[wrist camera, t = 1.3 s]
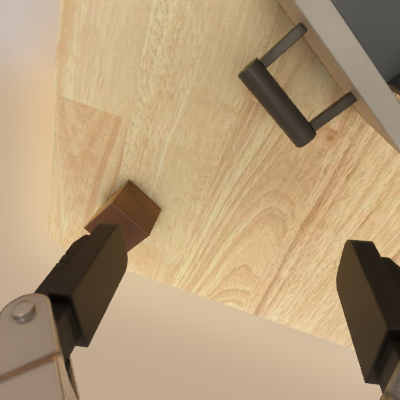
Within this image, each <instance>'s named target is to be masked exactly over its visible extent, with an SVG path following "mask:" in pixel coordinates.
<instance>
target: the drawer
mask: <svg viewBox="0 0 400 400" xmlns="http://www.w3.org/2000/svg"><path fill="white" fill-rule="evenodd" d="M277 1H278V3H279V4H280V5H281V7H282V8H283V10H284V11H285V12H286V14H287V15H288V17H289V18H290V19H291V21H292V22H293V23H294V25H295V27H294V28H293V29H292V30H291V31H290V32H289V33H288V34H287V35H285V36H284V37H283V38H282V39H281V40H280V41H279V42H278V43H277V44H276V45H275V46H274V47H272V48H271V49H270V50H269V51H268V52H267V53H266V54H265V55H264V56H263V57H262V58H261V59H260V60H259V59H258V58H255V59H254V60H253V61H252V62H250V63H249V64H248V65H247V66H246V67H245V68H244V69H243V70H242V71H241V72H240V73H239V75H238V77H239V78H240V79H241V81H242V82H243V83H244V84H245V85H246V87H247V88H248V89H249V90H250V91H251V93H252V94H253V95H254V96H255V97H256V99H257V100H258V101H259V102H260V103H261V105H262V106H263V107H264V108H265V110H266V111H267V112H268V113H269V114H270V116H271V117H272V118H273V119H274V120H275V122H276V123H277V124H278V125H279V126H280V128H281V129H282V130H283V131H284V132H285V134H286V135H287V136H288V137H289V138H290V140H291V141H292V142H293V143H294V144H295V146H296V147H298V148H300V147H303V146H305V145H306V144H308V143H309V142H310V141H312V140H313V138H314V137H315V136H316V130H318V129H319V128H321V127H322V126H323V125H325V124H326V123H327V122H329V121H330V120H331V119H333V118H334V117H336V116H337V115H338V114H340V113H341V112H342V111H344V110H345V109H347V108H348V107H349V106H351V105H353V106H354V107H355V109H356V110H357V112H358V113H359V114H360V116H361V117H362V118H363V119H364V120H365V121H367V122H368V123H369V124H370V125H371V126H372V127H373V128H374V129H375V130H376V131H377V132H378V133H379V134H380V135H381V136H382V137H383V138H384V139H385V140H386V141H387V142H388V143H389V144H390V145H391V146H392V147H393V148H395V149H396V150H397V151H398V152H399V153H400V102H399V101H398V99H397V98H396V96H395V95H394V93H393V92H395V93H397V94H399V95H400V0H277ZM302 36H303V37H304V39H305V40H306V41H307V43H308V44H309V45H310V47H311V48H312V50H313V51H314V52H315V54H316V55H317V56H318V58H319V59H320V61H321V62H322V63H323V65H324V66H325V68H326V69H327V70H328V72H329V73H330V74H331V76H332V77H333V79H334V80H335V81H336V83H337V84H338V85H339V87H340V88H341V90H342V91H343V92H344V94H345V95H344V96H343V97H341V98H340V99H339V100H337V101H336V102H335V103H333V104H332V105H331V106H329V107H328V108H327V109H325V110H324V111H323V112H321V113H320V114H319V115H317V116H316V117H315V118H313V119H312V120H311V121H310V122H308V121H307V120H306V118H305V117H304V116H303V115H302V113H301V112H300V111H299V110H298V108H297V107H296V106H295V105H294V103H293V102H292V101H291V100H290V98H289V97H288V96H287V94H286V93H285V92H284V91H283V89H282V88H281V87H280V86H279V84H278V83H277V82H276V81H275V79H274V78H273V77H272V76H271V74H270V73H269V72H268V70H267V69H266V68H267V67H268V66H269V65H271V64H272V63H273V62H274V61H275V60H276V59H277V58H278V57H279V56H281V55H282V54H283V53H284V52H285V51H286V50H287V49H288V48H289V47H291V46H292V45H293V44H294V43H295V42H296V41H297V40H298V39H299V38H301V37H302ZM392 91H393V92H392Z"/></svg>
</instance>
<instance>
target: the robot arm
mask: <svg viewBox="0 0 400 400" xmlns="http://www.w3.org/2000/svg"><path fill="white" fill-rule="evenodd" d="M127 261H128V257H127V250H126V244H125V239H124V233H123V228H122V225H121V224H117V223H103V222H100V223H99V224H98V225H97V226H96V228H95V229H94V230H93V232H92V233H91V234H90V235H84V236H83V237H81V238H80V239H78V240H77V241H75V242H74V243H73V244H72V245H71V246H70V248H69V249H68V250H67V252H66V254H65V255H63V257H62V258H61V260H60V261H59V263H57V264H56V266H55V267H54V268H53V269H52V271H51V272H50V273H49V275H48V276H47V277H46V278H45V280H44V281H43V282H42V283H41V285H40V286H39V287H38V289H37V290H36V291H35V292H34V293H32V294H27V295H23V296H21V297H18V298H17V299H15V300H13V301H11V302H10V303H9V304H7V305H6V306H5V307H4V308H3V309H2V311H1V312H0V400H80V396H79V392H78V387H77V382H76V378H75V373H74V368H73V364H72V359H71V357H70V354H71V353H72V351H73V349H74V347H75V346H81V347H88V346H89V344H90V342H91V340H92V338H93V336H94V334H95V332H96V330H97V328H98V326H99V324H100V322H101V320H102V318H103V316H104V314H105V312H106V309H107V307H108V305H109V303H110V301H111V299H112V297H113V295H114V293H115V291H116V289H117V287H118V285H119V283H120V281H121V279H122V277H123V275H124V273H125V271H126V268H127ZM336 285H337V292H338V295H339V298H340V302H341V305H342V308H343V311H344V315H345V318H346V321H347V325H348V328H349V331H350V335H351V338H352V341H353V344H354V348H355V351H356V354H357V358H358V361H359V364H360V367H361V370H362V374H363V377H364V381H365V383H370V384H378V385H380V387H381V390H382V393H383V394H382V396H381V398H380V400H400V267H399V266H398V265H397V264H396V263H395V262H393V261H392V260H391V259H390V258H387V257H381V256H380V254H379V252H378V250H377V249H376V247H375V245H374V243H373V242H372V241H360V240H347V241H346V243H345V245H344V249H343V253H342V257H341V260H340V264H339V268H338V272H337V278H336Z"/></svg>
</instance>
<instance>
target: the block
mask: <svg viewBox="0 0 400 400" xmlns="http://www.w3.org/2000/svg"><path fill="white" fill-rule="evenodd" d="M160 212H161V209H160V208H159V207H158V206H157V205H156V204H155V203H154V202H153V201H152V200H151V199H149V198H148V197H147V196H146V195H145V194H144V193H143V192H142V191H141V190H140V189H139V188H138V187H137V186H135V185H134V184H133V183H132V182H131V181H130V180H128V181H127V182H126V183H125V184H124V185H123V186H122V187H121V188H120V189H119V190H118V191H117V192H115V193H114V194H113V195H112V196H111V197H110V198H109V199H108V200H107V201H106V202H105V203H104V204H103V205H102V206H101V207H100V209H99V210H98V211H97V212H96V214H95V215H94V216H93V217H92V219H91V220H90V221H89V222H88V224H87V225H86V226H85V227H84V228H85V229H86V230H87V231H88V232H89V233H90V234H91V233H92V232H93V230H94V229H95V228H96V226H97V225H98V224H99V223H100V222H103V223H117V224H121V225H122V228H123V233H124V239H125V244H126V250H127V252H128V251H130V250H131V249H132V248H134V247H135V246H136V245H138V244H139V243H140V242H141V241H143V240H144V239H145V238H147V237H148V236H149V235H150V233H151V231H152V229H153V227H154V225H155V222H156V220H157V218H158V216H159V214H160Z"/></svg>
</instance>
